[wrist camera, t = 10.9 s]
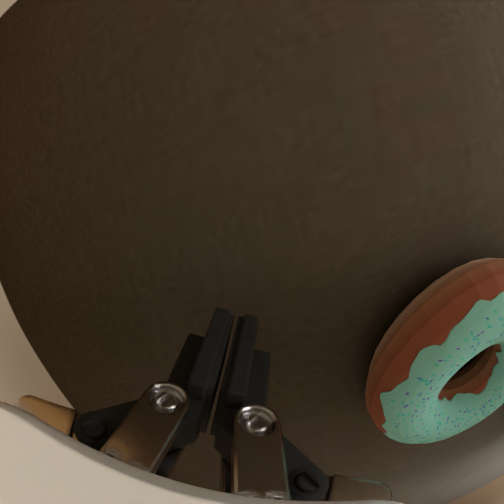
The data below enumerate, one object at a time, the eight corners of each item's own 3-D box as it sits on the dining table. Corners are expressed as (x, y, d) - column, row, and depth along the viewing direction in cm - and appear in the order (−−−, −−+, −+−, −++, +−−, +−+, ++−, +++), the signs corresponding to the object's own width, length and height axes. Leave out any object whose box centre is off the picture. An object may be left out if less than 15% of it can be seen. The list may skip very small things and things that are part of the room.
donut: (360, 424, 15) (367, 471, 12) (348, 277, 11) (372, 336, 8) (499, 372, 13) (519, 407, 9) (532, 223, 9) (577, 250, 5)
